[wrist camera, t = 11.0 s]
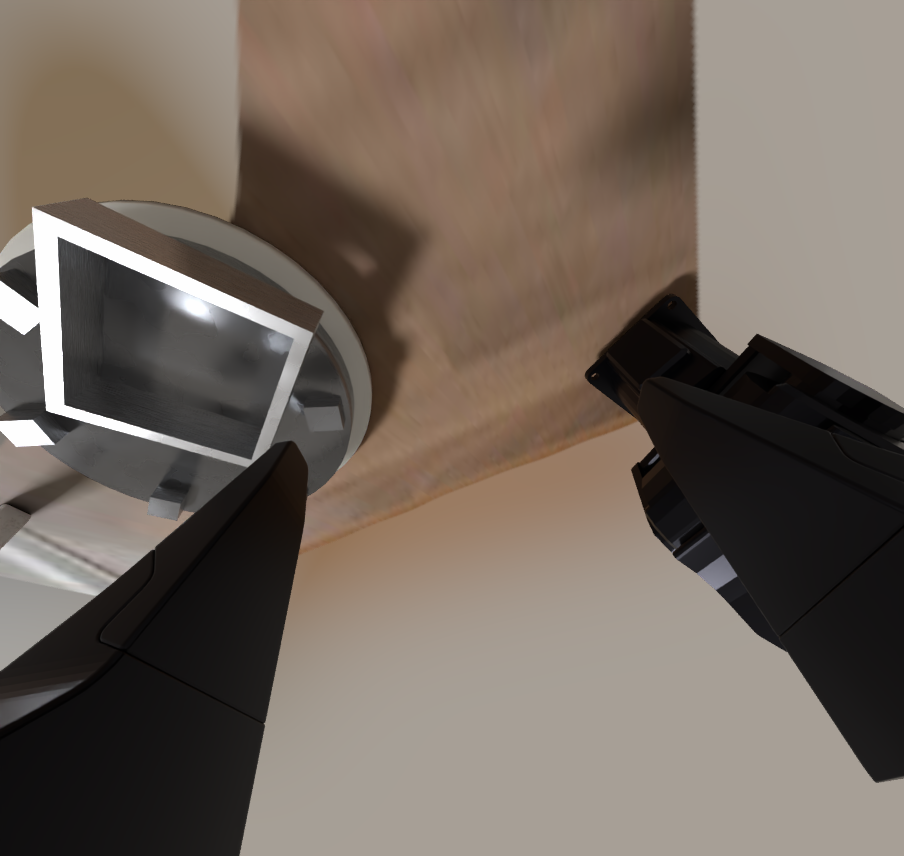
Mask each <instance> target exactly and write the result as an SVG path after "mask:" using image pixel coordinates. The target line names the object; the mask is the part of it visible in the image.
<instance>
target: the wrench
mask: <svg viewBox="0 0 904 856" xmlns="http://www.w3.org/2000/svg"><path fill="white" fill-rule="evenodd" d="M30 518H31V515H29V514H27V513H25V512H23V511H20V510H18V509H16V508H14V507H12V506H9V505H7V504H3V505H1V506H0V549H1V548H2V547H3V546H4V545H5V544H6V543H7V542H8V541H9V540H10V539H11V538H12V537H13V536H14V535H15V534H16V533H17V532H18V531H19V530H20V529H21V528H22V527H23V526H24V525H25V524H26V523H27V522H28V521H29V519H30Z"/></svg>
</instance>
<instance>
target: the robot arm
mask: <svg viewBox="0 0 904 856" xmlns="http://www.w3.org/2000/svg"><path fill="white" fill-rule="evenodd" d="M671 301H672V304H671V305H670V306H669V307H668V304H669V303H670V302H671ZM748 345H749V347H747V348H746V349H745V351H744V352H743V353H742V354H741V355H740V356H738V355H737V354H735V353H734V352H732V351H731V350H729V349H727V348H725V347H724V346H723V345H721V344H720V343H719V342H718V341H717V340H716V339H715V337H714V336H713V335H712V334H711V333H710V332H709V331H708V329H706V327H705V326H704V325H703V324H702V323H701V321H700V320H699V319H698V318H697V317H696V316H695V315H694V313H693V312H692V311H691V310H690V309H689V308H688V307H687V305H686V304H685V303H684V302H683V301H682V300H681V299H680V298H679V297H678V296H676V295H674V294H669V295H666V296H665V297H664V298H662V299H661V300H660V301H659V302H658V303H657V304H656V305H655V306H654V307H653V308H652V309H651V310H650V311H649V312H648V313H647V314H646V315H645V316H644V317H643V318H641V319H640V320H639V321H638V322H637V323H636V324H635V325H634V326H633V327H632V328H631V329H630V330H629V331H628V332H627V333H626V334H625V335H624V336H623V337H621V338H620V339H619V340H618V341H617V342H616V343H615V344H614V345H613V346H612V347H611V348H610V349H609V350H608V351H607V352H606V353H605V354H604V355H603V356H602V357H600V358H599V359H598V360H597V361H596V362H595V363H594V364H593V365H592V366H591V367H590V368H589V369H588V370H587V371H586V373H585V378H586V379H587V380H588V382H589V383H590V384H592V385H593V386H594V387H596V388H597V389H598V390H600V391H601V392H602V393H603V394H605V395H606V396H607V397H609V398H610V399H611V400H613V401H614V402H615V403H616V404H618V405H619V406H620V407H622V408H623V409H624V410H626V411H627V412H628V413H629V414H631V415H632V416H633V417H635V418H636V419H637V420H638V421H639V422H640V423H641V425H642V426H643V427H644V428H645V429H646V431H647V432H648V434H649V436H650V439H651V440H652V442H653V444H654V446H655V447H654V448H653V449H652V450H651V451H650V452H649V453H648V454H647V456H646V457H645V458H644V459H643V460H642V461H641V462H640V463H639V462H638V463H637V464H636V465H635V466H634V467H633V468H632V469H631V471H632V474H633V477H634V480H635V483H636V487H637V489H638V493H639V496H640V499H641V502H642V505H643V508H644V511H645V514H646V517H647V520H648V522H649V525H650V527H651V529H652V531H653V533H654V535H655V536H656V537H657V538H658V539H659V540H660V541H661V542H662V543H663V544H664V545H665V546H666V547H667V548H668V549H669V550H670V551H671V552H672V553H673V556H674V557H675V558H676V559H677V560H678V561H680V562H681V563H683V564H684V565H686V566H687V567H688V568H690V569H691V570H693V571H694V572H696V573H697V574H698V575H699V576H700V577H701V578H703V579H704V580H705V581H706V582H707V583H708V584H710V585H711V586H712V587H713V588H714V589H715V590H716V591H717V592H718V593H719V594H720V595H721V596H722V597H723V598H724V599H725V600H726V601H727V602H728V603H729V604H730V605H731V606H732V608H734V610H735V611H736V612H737V613H738V614H739V615H740V616H741V618H742V619H743V620H744V621H745V622H746V623H747V624H748V625H749V626H750V627H751V629H752V630H753V631H754V632H755V633H756V634H758V635H759V636H761V637H762V638H764V639H766V640H767V641H769V642H771V643H772V644H774V645H776V646H778V647H779V648H781V649H783V650H785V651H786V652H788V653H789V655H790V657H791V658H792V660H793V661H794V663H795V664H796V666H797V667H798V669H799V670H800V672H801V673H802V675H803V676H804V678H805V679H806V681H807V682H808V684H809V685H810V686H811V688H812V690H813V691H814V693H815V694H816V696H817V697H818V699H819V701H820V702H821V703H822V705H823V707H824V708H825V710H826V711H827V713H828V714H829V716H830V717H831V719H832V720H833V722H834V723H835V725H836V726H837V728H838V729H839V731H840V732H841V734H842V735H843V737H844V738H845V740H846V741H847V743H848V744H849V746H850V747H851V749H852V750H853V752H854V754H855V755H856V757H857V758H858V760H859V761H860V763H861V764H862V766H863V767H864V768H865V770H866V771H867V773H868V774H869V775H870V776H871V777H872V779H873V780H874V781H875V782H876V783H879V782H885V781H891V780H897V779H903V778H904V408H903V407H901V406H899V405H898V404H896V403H895V402H893V401H891V400H890V399H888V398H887V397H885V396H883V395H882V394H880V393H878V392H877V391H875V390H873V389H872V388H870V387H868V386H866V385H864V384H862V383H860V382H858V381H856V380H854V379H852V378H850V377H848V376H846V375H844V374H842V373H840V372H838V371H837V370H835V369H833V368H831V367H828V366H827V365H825V364H823V363H821V362H818V361H816V360H814V359H812V358H810V357H807V356H805V355H803V354H801V353H799V352H796V351H794V350H792V349H790V348H787V347H785V346H783V345H781V344H779V343H776V342H774V341H772V340H770V339H768V338H766V337H763V336H761V335H759V334H756V335H755V336H754V337H753V339H752V340H751V341H750V342H749V343H748ZM595 373H596V375H595V376H594V377H591V376H592V375H593V374H595ZM307 484H308V465H307V462H306V461H305V459H304V457H303V455H302V453H301V452H300V450H299V448H298V446H297V444H296V443H295V442H294V441H291V440H290V441H284V442H278V443H276V444H274V445H273V446H272V447H271V448H270V449H268V450H267V451H266V452H265V453H264V454H263V455H261V456H260V457H259V458H258V459H257V460H256V461H254V462H253V463H252V464H251V465H250V466H249V467H248V468H246V469H245V470H244V471H243V472H242V473H241V474H239V475H238V476H237V477H236V478H235V479H234V480H232V481H231V482H230V483H229V484H228V485H227V486H225V487H224V488H223V489H222V490H221V491H220V492H219V493H217V494H216V495H215V496H214V497H213V498H212V499H210V500H209V501H208V502H207V503H206V504H205V505H203V506H202V507H201V508H200V509H199V510H198V511H196V512H195V513H194V514H193V515H192V516H191V517H190V518H188V519H187V520H186V521H185V522H184V523H183V524H181V525H180V526H179V527H178V528H177V529H176V530H174V531H173V532H172V533H171V534H170V535H169V536H168V537H166V538H165V539H164V540H163V541H162V542H161V543H159V544H158V545H157V546H156V547H155V550H151V551H150V552H149V553H148V554H147V555H145V556H144V557H143V558H142V559H141V560H140V561H138V562H137V563H136V564H135V565H134V566H133V567H131V568H130V569H129V570H128V571H127V572H125V573H124V574H123V575H122V576H121V577H119V578H118V579H117V580H116V581H115V582H114V583H112V584H111V585H110V586H109V587H107V588H106V589H105V590H104V591H102V592H101V593H100V594H99V595H97V596H96V597H95V598H94V599H93V600H91V601H90V602H89V603H87V604H86V605H85V606H84V607H82V608H81V609H80V610H78V611H77V612H76V613H75V614H74V615H72V616H71V617H70V618H68V619H67V620H66V621H64V622H63V623H62V624H61V625H59V626H58V627H57V628H55V629H54V630H53V631H52V632H50V633H49V634H48V635H46V636H45V637H44V638H43V639H41V640H40V641H39V642H37V643H36V644H35V645H34V646H32V647H31V648H30V649H29V650H27V651H26V652H25V653H24V654H22V655H21V656H19V657H18V658H17V659H16V660H15V661H13V662H12V663H10V664H9V665H8V666H7V667H5V668H4V669H3V670H1V671H0V856H239V854H240V850H241V845H242V840H243V835H244V829H245V824H246V819H247V814H248V809H249V804H250V798H251V794H252V789H253V784H254V779H255V774H256V769H257V764H258V758H259V753H260V748H261V743H262V738H263V732H264V728H265V725H264V723H265V721H266V716H267V711H268V706H269V701H270V696H271V691H272V686H273V681H274V676H275V671H276V665H277V661H278V655H279V650H280V645H281V640H282V635H283V630H284V624H285V620H286V615H287V610H288V605H289V599H290V595H291V590H292V585H293V579H294V574H295V569H296V564H297V559H298V554H299V549H300V544H301V539H302V534H303V528H304V522H305V511H306V497H307Z"/></svg>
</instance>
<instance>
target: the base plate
mask: <svg viewBox="0 0 904 856" xmlns="http://www.w3.org/2000/svg"><path fill="white" fill-rule="evenodd" d="M97 203H99V204H101V205H103V206H106V207H108V208H110V209H112V210H114V211H116V212H118V213H120V214H122V215H124V216H126V217H129V218H131V219H133V220H135V221H137V222H139V223H141V224H143V225H145V226H147V227H149V228H152V229H154V230H156V231H158V232H160V233H162V234H164V235H168V236H173V237H178V238H182V239H185V240H189V241H192V242H195V243H198V244H202V245H205V246H208V247H211V248H213V249H215V250H218V251H220V252H222V253H225V254H227V255H229V256H232V257H234V258H236V259H238V260H240V261H241V262H243V263H245V264H247V265H249V266H251V267H252V268H254V269H256V270H258V271H260V272H261V273H263V274H264V275H265V276H267V277H268V278H270V279H271V280H273V281H274V282H276V283H277V284H279V285H280V286H281V287H283V288H284V289H285V290H286V291H287V292H289V293H290V294H291V295H292V296H294V297H296V298H298V299H300V300H302V301H304V302H306V303H308V304H311V305H313V306H315V307H317V308H319V309H321V310H323V311H324V313H323V315H322V318H321V320H320V324H321V325H322V327H323V328H324V329H325V331H326V332H327V333H328V335H329V336H330V337H331V338H332V340H333V342H334V344H335V345H336V347H337V349H338V350H339V352H340V354H341V356H342V358H343V360H344V363H345V365H346V367H347V370H348V372H349V376H350V379H351V383H352V387H353V394H354V403H355V404H354V419H353V424H352V430H351V435H350V440H349V444H348V448H347V452H346V454H345V457H344V459H343V461H342V463H341V465H340V466H339V468H338V469H337V471H338V470H339V469H340V468H341V467H342V466H344V465H345V464H346V462H347V461H348V460H349V459H350V458H351V457H352V456H353V455H354V453H355V452H356V450H357V449H358V447H359V445H360V444H361V442H362V440H363V437H364V435H365V433H366V430H367V427H368V422H369V418H370V413H371V404H372V382H371V373H370V369H369V365H368V361H367V357H366V354H365V352H364V349H363V347H362V344H361V342H360V339H359V337H358V335H357V333H356V332H355V330H354V328H353V326H352V324H351V323H350V321H349V319H348V318H347V316H346V315H345V313H344V312H343V311H342V309H341V308H340V307H339V305H338V304H337V302H336V301H335V300H334V299H333V297H332V296H331V295H330V294H329V293H328V292H327V291H326V290H325V289H324V288H323V286H322V285H321V284H320V283H319V282H318V281H317V280H316V279H315V278H314V277H313V276H311V275H310V274H309V273H308V272H307V271H306V270H305V269H303V268H302V267H301V266H300V265H299V264H298V263H297V262H295V261H294V260H293V259H291V258H290V257H288V256H287V255H286V254H284V253H283V252H281V251H280V250H279V249H277V248H276V247H274V246H273V245H272V244H270V243H268V242H266V241H264V240H263V239H261V238H259V237H257V236H256V235H254V234H252V233H250V232H249V231H247V230H245V229H243V228H241V227H238V226H236V225H234V224H231V223H229V222H227V221H224V220H222V219H220V218H218V217H215V216H212V215H208V214H205V213H202V212H198V211H196V210H192V209H189V208H186V207H181V206H176V205H170V204H165V203H159V202H154V201H134V200H119V201H107V202H97ZM34 249H35V243H34V229H33V223H31V224H29V225H28V226H27V227H25V228H24V229H23V230H21V231H20V232H19V233H18V234H17V235H16V236H14V237H13V238H12V239H11V240H10V241H9V242H8V244H7V245H6V246H5V248H4V249H3V251H2V252H1V253H0V268H1V267H2V266H3V265H5V264H6V263H7V262H9V261H10V260H12V259H13V258H15V257H18V256H20V255H22V254H24V253H27V252H29V251H31V250H34Z"/></svg>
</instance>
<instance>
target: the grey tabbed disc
mask: <svg viewBox="0 0 904 856" xmlns="http://www.w3.org/2000/svg"><path fill="white" fill-rule="evenodd" d="M32 215H33V229H34V243H35V249H34V250H31V251H29V252H27V253H24V254H22V255H20V256H18V257H15V258H13V259H12V260H10V261H9V262H7V263H6V264H5V265H3V266H2V267H1V268H0V406H1V407H2V408H3V409H4V410H5V412H6V413H4V414H3V415H1V416H0V431H2V433H3V434H4V435H5V436H6V437H7V438H8V439H9V440H10V441H11V442H12V443H13V444H14V445H15V446H16V447H19V446H39V445H40V446H41V447H43V448H44V449H45V450H46V451H48V452H49V453H50V454H51V455H53V456H54V457H56V458H57V459H59V460H60V461H62V462H63V463H65V464H66V465H68V466H69V467H71V468H73V469H74V470H76V471H78V472H80V473H81V474H83V475H85V476H87V477H88V478H90V479H92V480H94V481H96V482H98V483H101V484H103V485H105V486H107V487H109V488H111V489H114V490H116V491H119V492H121V493H123V494H126V495H128V496H131V497H134V498H137V499H140V500H143V501H146V502H149V506H148V513H147V514H148V515H152V516H157V517H162V518H167V519H171V520H176V521H177V520H178V518H179V516H180V515H181V513H182V511H183V510H184V511H189V512H196V511H198V510H199V509H200V508H201V507H202V506H203V505H205V504H206V503H207V502H208V501H209V500H210V499H212V498H213V497H214V496H215V495H216V494H217V493H219V492H220V491H221V490H222V489H223V488H224V487H225V486H227V485H228V484H229V483H230V482H231V481H232V480H234V479H235V478H236V477H237V476H238V475H239V474H241V473H242V472H243V471H244V470H245V469H246V468H248V467H249V466H250V465H251V464H252V463H253V462H254V461H256V460H257V459H258V458H259V457H260V456H261V455H263V454H264V453H265V452H266V451H267V450H268V449H270V448H271V447H272V446H273V445H274V444H276V443H278V442H284V441H290V440H291V441H294V442H295V443H296V444H297V446H298V448H299V450H300V452H301V453H302V455H303V457H304V459H305V461H306V462H307V465H308V484H307V497H308V496H309V495H311V494H312V493H314V492H315V491H317V490H318V489H319V488H321V487H322V486H323V485H324V484H326V482H327V481H328V480H329V479H330V478H331V477H332V476H333V475H334V474H335V472H336V471H337V469H338V468H339V466H340V465H341V463H342V461H343V459H344V457H345V454H346V452H347V448H348V444H349V440H350V435H351V430H352V424H353V419H354V404H355V403H354V394H353V387H352V383H351V379H350V376H349V372H348V370H347V367H346V365H345V363H344V360H343V358H342V356H341V354H340V352H339V350H338V349H337V347H336V345H335V344H334V342H333V340H332V338H331V337H330V336H329V335H328V333H327V332H326V331H325V329H324V328H323V327H322V325H321V324H320V320H321V318H322V315H323V313H324V311H323V310H321V309H319V308H317V307H315V306H313V305H311V304H308V303H306V302H304V301H302V300H300V299H298V298H296V297H294V296H292V295H291V294H290V293H289V292H287V291H286V290H285V289H284V288H283V287H281V286H280V285H279V284H277V283H276V282H274V281H273V280H271V279H270V278H268V277H267V276H265V275H264V274H263V273H261V272H260V271H258V270H256V269H254V268H252V267H251V266H249V265H247V264H245V263H243V262H241V261H240V260H238V259H236V258H234V257H232V256H229V255H227V254H225V253H222V252H220V251H218V250H215V249H213V248H211V247H208V246H205V245H202V244H198V243H195V242H192V241H189V240H185V239H182V238H178V237H173V236H168V235H164V234H162V233H160V232H158V231H156V230H154V229H152V228H149V227H147V226H145V225H143V224H141V223H139V222H137V221H135V220H133V219H131V218H129V217H126V216H124V215H122V214H120V213H118V212H116V211H114V210H112V209H110V208H108V207H106V206H103V205H101V204H99V203H97V202H95V201H93V200H91V199H89V198H83V199H77V200H71V201H65V202H59V203H53V204H47V205H42V206H35V207H32ZM307 497H306V500H307Z"/></svg>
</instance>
